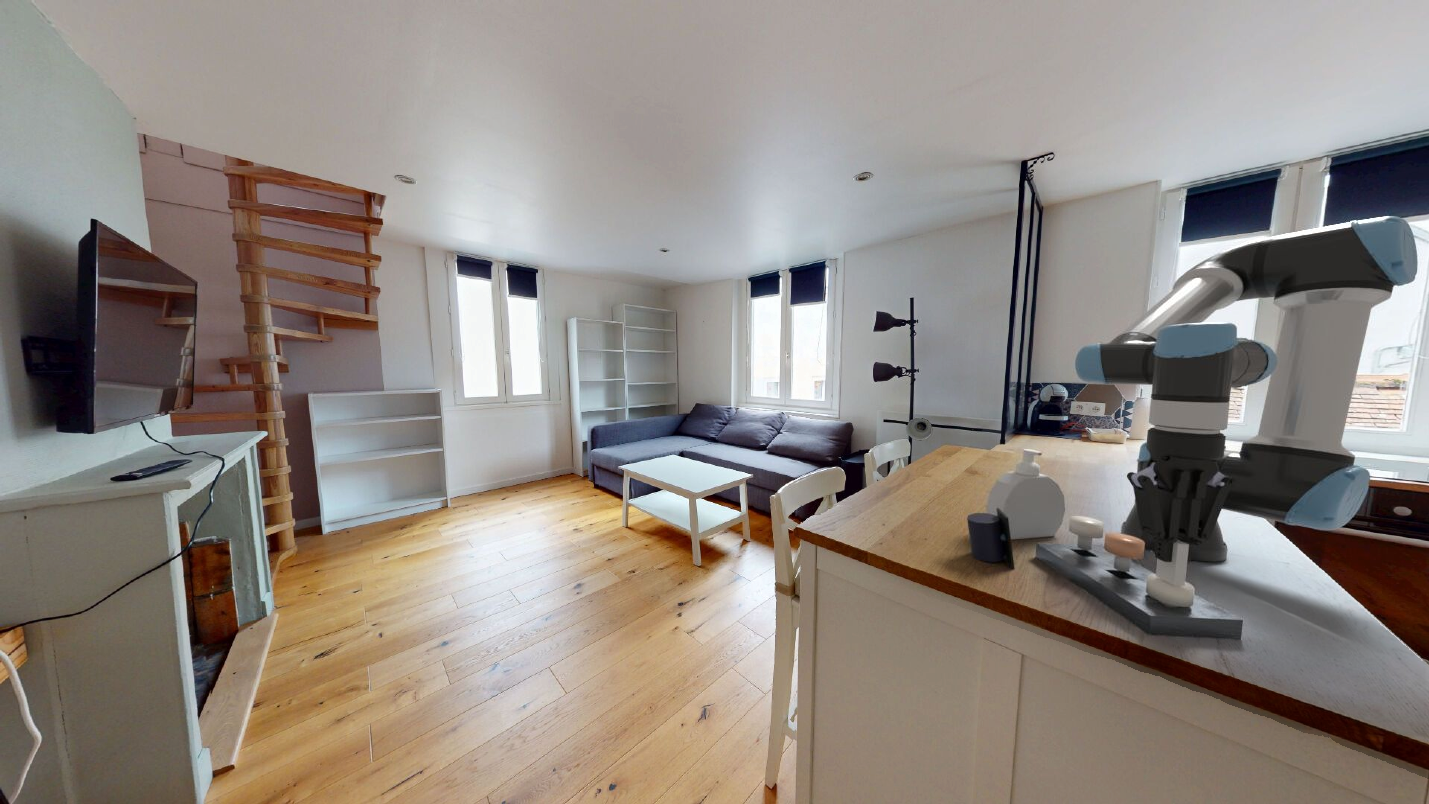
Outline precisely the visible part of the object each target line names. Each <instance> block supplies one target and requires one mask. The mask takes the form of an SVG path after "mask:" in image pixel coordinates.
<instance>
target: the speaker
mask: <svg viewBox="0 0 1429 804" xmlns="http://www.w3.org/2000/svg"><path fill="white" fill-rule="evenodd" d="M996 509H997V516H996V515H992V514H989V513H987V512H985V513H984V512H975V513H971V514H968V515H967V517H966V519H967V527H968V535H969V541H970V550H971V551H970V552H971V556H972V557H973V558H974V559H978V560H980V561H982V562H983V561H984V562H990V563H997V562H1000V561H1002V560H1004V561H1005V562H1006V563H1007V564H1008V565H1009V567H1010V568H1011V569H1012V570H1015V562H1014V561H1015V560H1014V554H1013V545H1012V540H1011V536H1010V528H1009V520H1008V517H1007V516H1006V515H1005V514H1004V513H1003V512H1002V511H1001V510H1000V509H999V508H996Z"/></svg>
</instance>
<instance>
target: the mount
mask: <svg viewBox="0 0 1429 804" xmlns="http://www.w3.org/2000/svg"><path fill="white" fill-rule="evenodd" d="M1035 543H1036V544H1035V546H1036V547H1035V558H1036V559H1038V560H1040V562H1041V563H1044V564H1045V565H1046V566H1048V567H1050V568H1051V569H1053V570H1054V571H1055V572H1056V573H1058V574H1060V575H1061V576H1063V577H1064V578H1065V579H1067V580H1068V581H1070V582H1071V583H1073V584H1074V585H1075V586H1077V587H1078V588H1080V589H1082V590H1083V591H1085V592H1086V593H1088V594H1089V595H1090V596H1092V597H1093V598H1094V599H1097V601H1099V602H1100V603H1102V604H1103V605H1105V606H1106V607H1107V608H1109V609H1110V610H1112V611H1114V612H1115V613H1116V614H1117V615H1119V616H1120V617H1122V618H1124V619H1125V620H1126V621H1127V622H1129V623H1131V624H1132V625H1134V626H1135V627H1137V628H1138V629H1139V630H1141V631H1143V632H1144V633H1145V634H1147V635H1148V636H1159V637H1160V636H1161V637H1162V636H1163V637H1180V638H1182V637H1183V638H1199V639H1201V638H1202V639H1203V638H1204V639H1220V640H1221V639H1223V640H1226V639H1227V640H1242V637H1243V636H1242V634H1243V629H1244V628H1243V627H1244V619H1242V618H1241V617H1239V616H1236V615H1235V614H1233V613H1231V612H1229V611H1227V610H1226V609H1223V608H1221V607H1220V606H1218V605H1215V604H1214V603H1212V602H1210V601H1208V600H1206V599H1204V598H1202V597H1201V596H1198V595H1197V594H1195V593H1194V599H1193V606H1191V607H1180V606H1178V607H1167V606H1165V605H1163V604H1162V603H1160V602H1158V601H1159V600H1157V599H1155V598H1153V597H1151V596H1149V595H1148V594H1147V593H1146V585H1147V576H1148V575H1149V574H1156V572H1153V571H1151V570H1150V569H1148V568H1145V567H1144V566H1141V565H1140V564H1137V563H1136V562H1134V561H1132V560H1131V567H1130V572H1123V571H1120V570H1117V569H1115V568H1114V558H1115V555H1114V554H1111V553H1109V552H1107V551H1106V550H1105V549H1104V545H1101V544H1093V543H1092V549H1091V550H1083V549H1080V548H1078V547H1077V545H1078V543H1053V542H1050V543H1049V542H1035Z"/></svg>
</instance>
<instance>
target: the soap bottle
mask: <svg viewBox="0 0 1429 804" xmlns="http://www.w3.org/2000/svg"><path fill="white" fill-rule="evenodd" d="M1042 454H1043V452H1041V451H1039V450H1034V449H1031V448H1030V449H1029V448H1023V449H1022V460H1020V461H1017V463H1015V469H1014V471H1013V470H1011V471H1006V472H1005V473H1003V475H1001V476H1000V477H999V478H997V479H996V481H995V483H994V484H993V485H992V487H991V488H990V491H989V494H988V497H987V498H988V499H987V502H986V513H989V514H992V515H996V516H997V509H996V508H999V509H1000V510H1001V511H1002V512H1003V513H1004V514H1005V515H1006V516H1007V517H1008V520H1009V528H1010V536H1011V541H1012V540H1022V539H1024V540H1025V539H1036V538H1046V537H1047V538H1048V537H1055V536H1056V535H1057V532H1059V530H1060V528H1061V526H1062V524H1063V521H1064V516H1065V511H1066V507H1065V506H1066V505H1065V496H1064V493H1063V491H1062V489H1061V487H1060V484H1059V483H1058V482H1057V481H1056V480H1054V479H1053V478H1052V477H1051V476H1050V475H1047V474H1042V473H1041V467H1040V465H1039V464H1038V463H1036V462H1035V456H1039V457H1041V456H1042Z"/></svg>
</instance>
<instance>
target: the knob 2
mask: <svg viewBox="0 0 1429 804" xmlns="http://www.w3.org/2000/svg"><path fill="white" fill-rule="evenodd" d="M1146 593H1147V594H1148V595H1149V596H1151V597H1153V598H1155V599H1157V600H1159V601H1158V602H1160V603H1162V604H1163V605H1165V606H1167V607H1178V606H1180V607H1191V606H1193V599H1194V594H1195V587H1194V586H1193V585H1192V584H1191V583H1189V582H1187V581H1185V586H1173V585H1172V584H1170V583H1168V582H1166V581H1164V580H1162V579H1160V578H1158V577H1156V573H1155V574H1149V575H1148V576H1147V585H1146Z"/></svg>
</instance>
